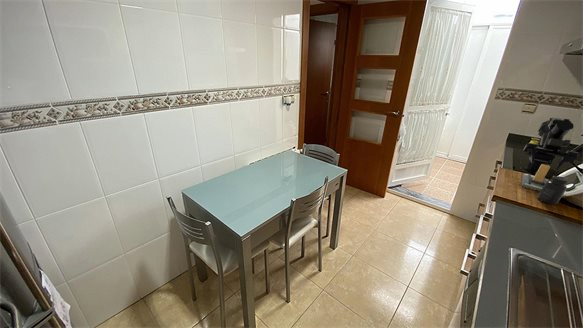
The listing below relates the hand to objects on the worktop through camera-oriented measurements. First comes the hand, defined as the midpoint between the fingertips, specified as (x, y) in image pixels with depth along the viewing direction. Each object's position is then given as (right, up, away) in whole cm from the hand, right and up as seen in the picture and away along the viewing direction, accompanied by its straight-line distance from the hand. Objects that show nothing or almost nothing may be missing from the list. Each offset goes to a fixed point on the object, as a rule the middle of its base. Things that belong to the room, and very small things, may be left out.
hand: (544, 166), depth 119 cm
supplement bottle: (-10, -16, -10) cm, 22 cm away
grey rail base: (-2, -10, +3) cm, 10 cm away
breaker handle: (-2, -8, +2) cm, 9 cm away
